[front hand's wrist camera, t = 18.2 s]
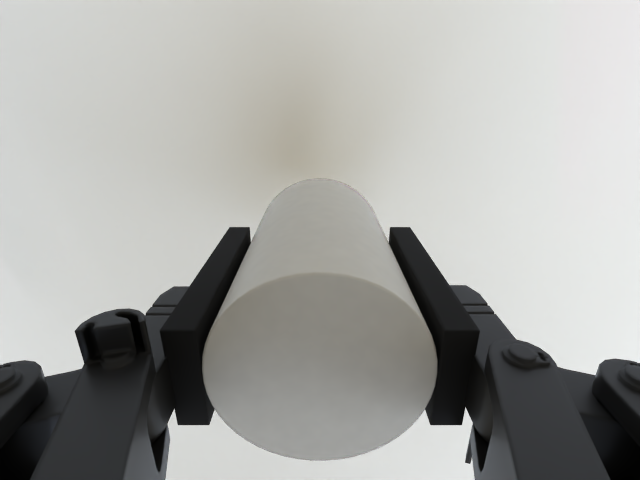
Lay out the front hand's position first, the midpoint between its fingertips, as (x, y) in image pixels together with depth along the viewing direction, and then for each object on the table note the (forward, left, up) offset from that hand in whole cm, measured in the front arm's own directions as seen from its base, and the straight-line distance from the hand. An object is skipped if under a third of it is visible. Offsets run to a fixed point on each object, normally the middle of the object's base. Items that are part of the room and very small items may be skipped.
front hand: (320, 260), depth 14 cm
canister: (0, 0, -2) cm, 2 cm away
